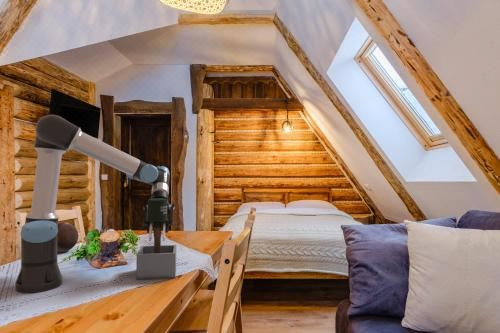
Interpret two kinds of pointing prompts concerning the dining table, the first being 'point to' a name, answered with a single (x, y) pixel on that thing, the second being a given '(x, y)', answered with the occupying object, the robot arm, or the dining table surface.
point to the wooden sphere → (66, 237)
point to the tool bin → (156, 263)
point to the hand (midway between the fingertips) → (157, 238)
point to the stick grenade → (157, 219)
